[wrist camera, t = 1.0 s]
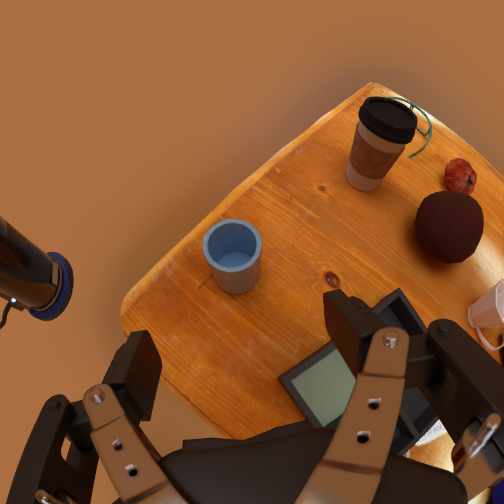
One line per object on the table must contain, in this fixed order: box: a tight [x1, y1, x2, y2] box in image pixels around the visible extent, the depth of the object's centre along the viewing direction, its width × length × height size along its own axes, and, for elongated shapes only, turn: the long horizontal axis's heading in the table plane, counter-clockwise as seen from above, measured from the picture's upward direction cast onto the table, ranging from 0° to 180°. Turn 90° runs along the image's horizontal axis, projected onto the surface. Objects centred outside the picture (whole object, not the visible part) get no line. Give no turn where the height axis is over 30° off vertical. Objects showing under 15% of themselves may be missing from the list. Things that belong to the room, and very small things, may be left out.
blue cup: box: [203, 219, 262, 294], centre depth 31 cm, size 6×6×8 cm
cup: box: [468, 279, 504, 351], centre depth 27 cm, size 7×10×8 cm
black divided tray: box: [277, 288, 439, 456], centre depth 26 cm, size 18×18×4 cm
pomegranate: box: [444, 158, 477, 196], centre depth 39 cm, size 7×7×10 cm
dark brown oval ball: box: [415, 191, 484, 264], centre depth 32 cm, size 11×13×10 cm
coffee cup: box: [346, 97, 417, 192], centre depth 35 cm, size 8×8×15 cm
